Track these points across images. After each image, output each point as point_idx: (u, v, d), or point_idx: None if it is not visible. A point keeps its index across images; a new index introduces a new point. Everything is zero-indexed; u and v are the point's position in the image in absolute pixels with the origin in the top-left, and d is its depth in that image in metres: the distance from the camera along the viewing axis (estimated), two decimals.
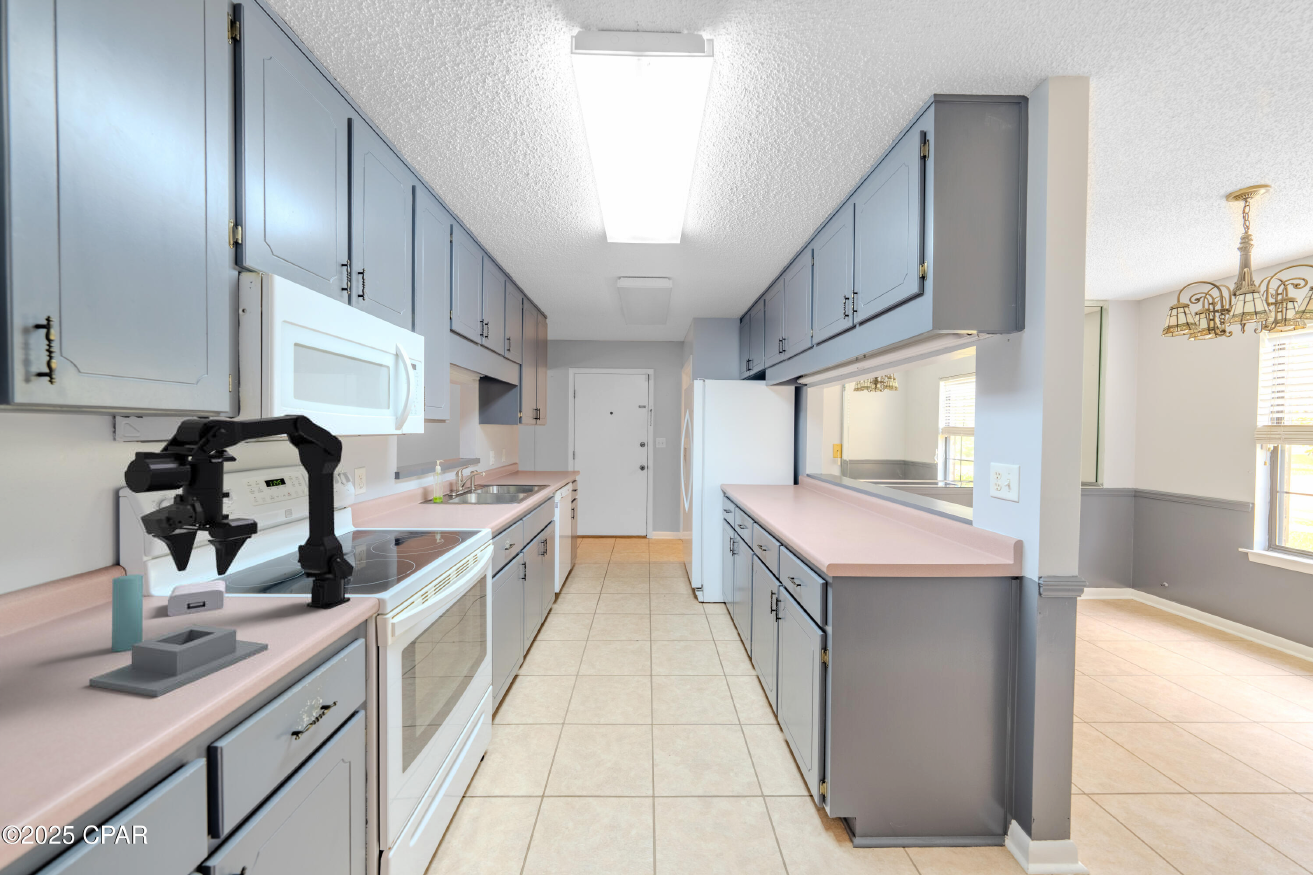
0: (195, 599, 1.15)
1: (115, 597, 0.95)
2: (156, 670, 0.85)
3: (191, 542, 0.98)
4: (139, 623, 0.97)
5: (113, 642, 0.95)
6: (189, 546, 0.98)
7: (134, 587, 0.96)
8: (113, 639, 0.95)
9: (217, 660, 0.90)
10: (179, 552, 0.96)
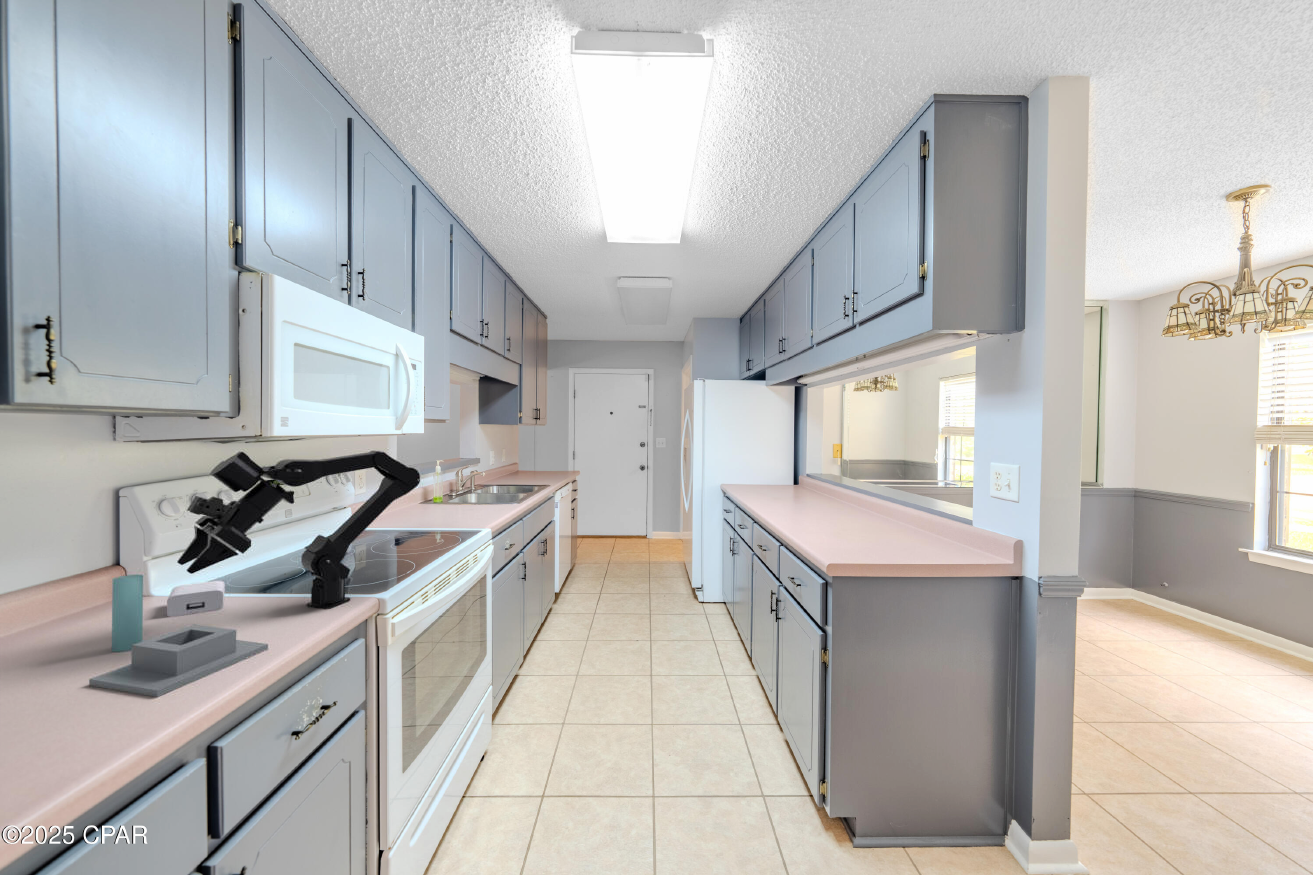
0: (194, 599, 1.15)
1: (115, 597, 0.95)
2: (156, 670, 0.85)
3: None
4: (139, 623, 0.97)
5: (113, 642, 0.95)
6: None
7: (134, 587, 0.96)
8: (113, 639, 0.95)
9: (217, 660, 0.90)
10: (193, 548, 1.08)
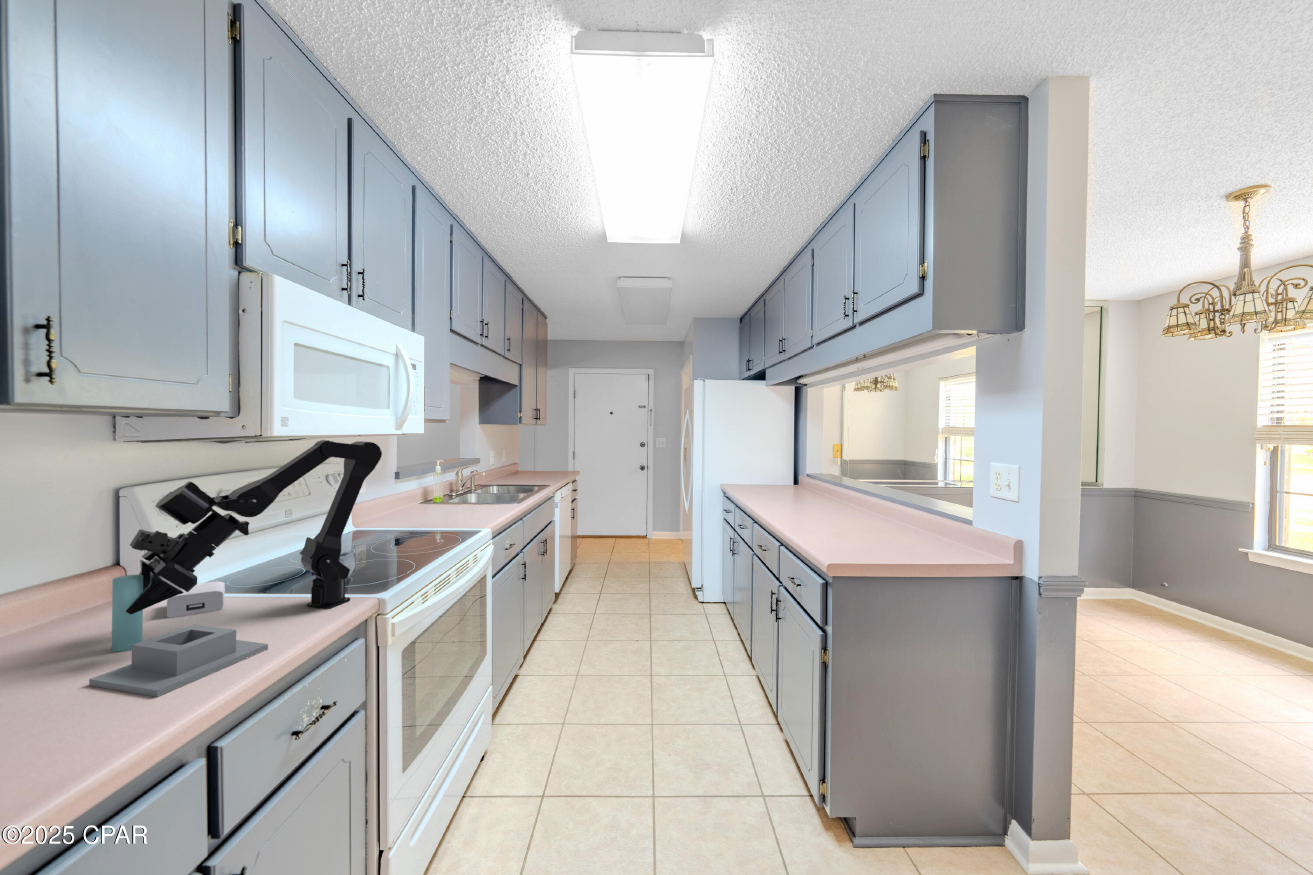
0: (194, 600, 1.14)
1: (115, 597, 0.95)
2: (156, 670, 0.85)
3: None
4: (139, 623, 0.97)
5: (113, 642, 0.95)
6: None
7: (134, 587, 0.96)
8: (113, 639, 0.95)
9: (217, 660, 0.90)
10: None
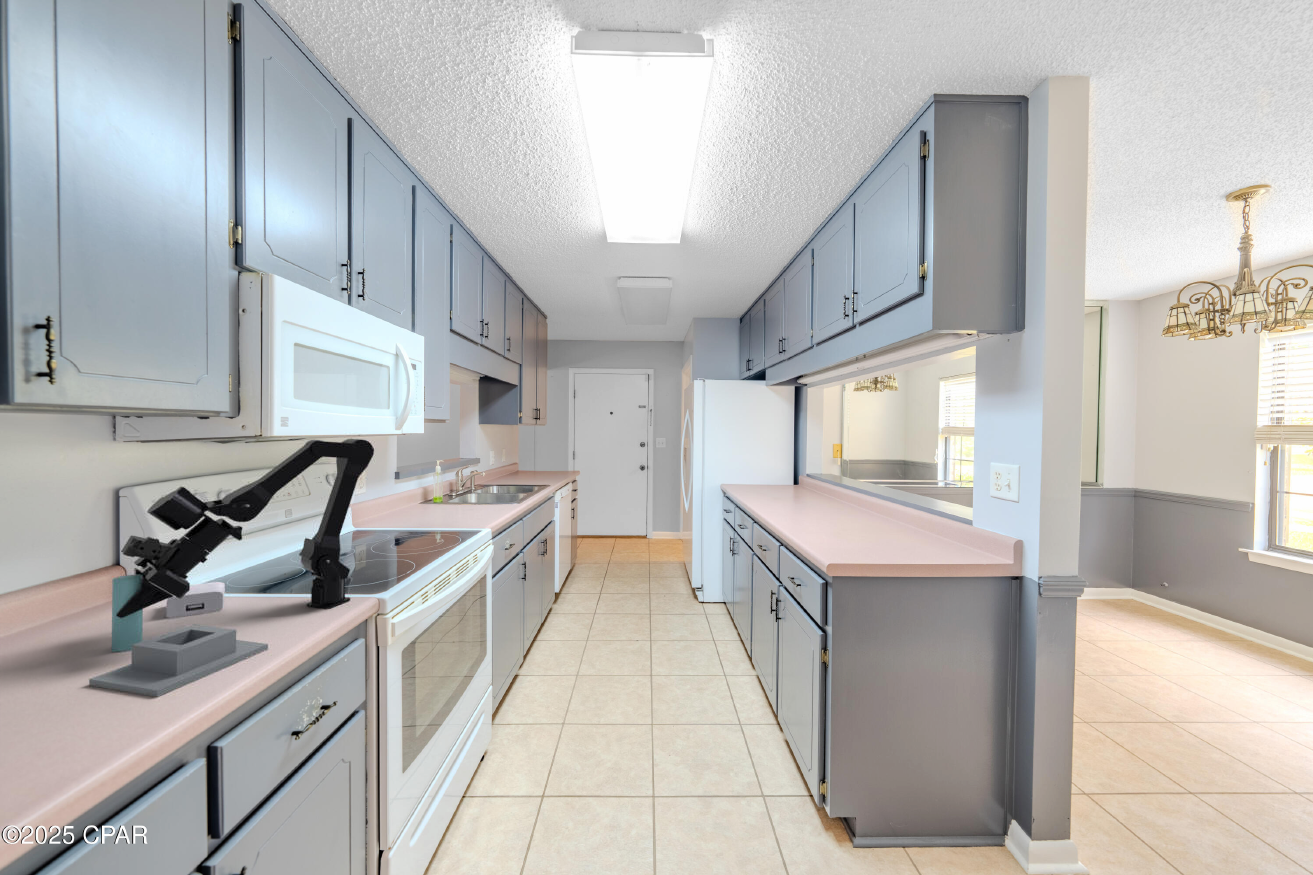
0: (194, 600, 1.14)
1: (115, 597, 0.95)
2: (156, 670, 0.85)
3: None
4: (139, 623, 0.97)
5: (113, 642, 0.95)
6: None
7: (134, 587, 0.96)
8: (113, 639, 0.95)
9: (217, 660, 0.90)
10: None
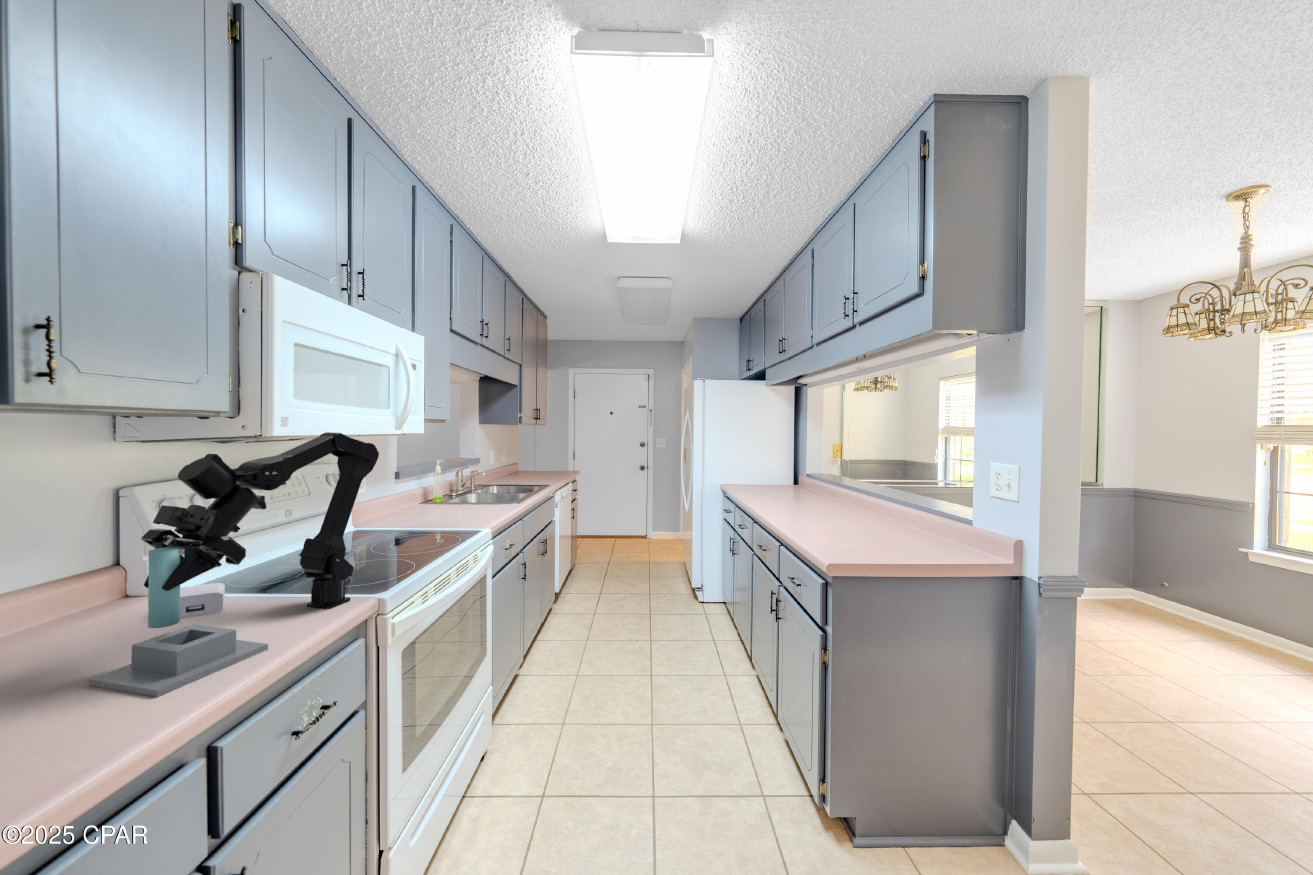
0: (194, 602, 1.13)
1: (157, 570, 0.89)
2: (156, 670, 0.85)
3: None
4: (179, 596, 0.92)
5: (154, 618, 0.89)
6: None
7: (177, 558, 0.91)
8: (154, 615, 0.89)
9: (217, 660, 0.90)
10: None
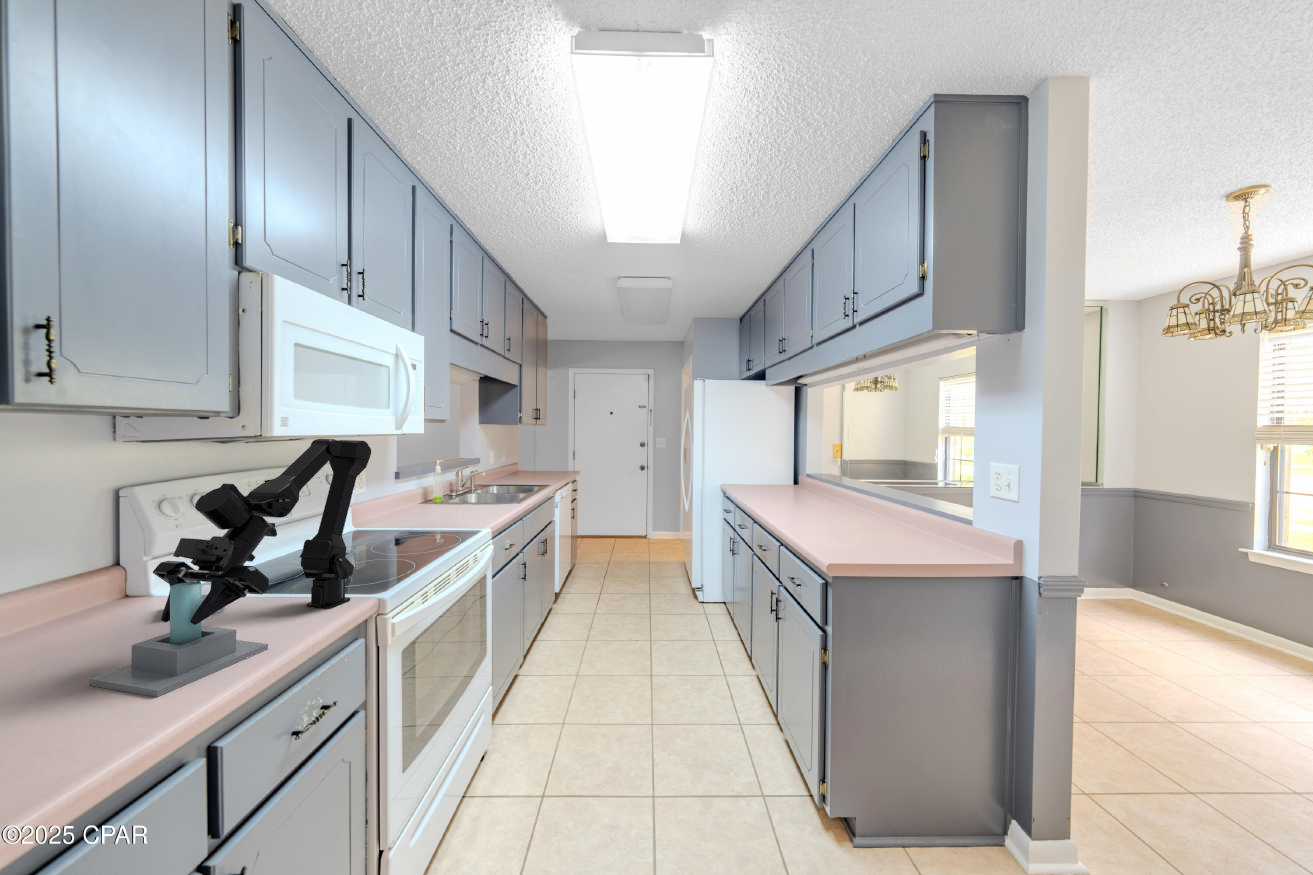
0: None
1: (181, 606, 0.88)
2: (156, 670, 0.85)
3: None
4: None
5: None
6: None
7: (199, 594, 0.90)
8: None
9: (217, 660, 0.90)
10: None
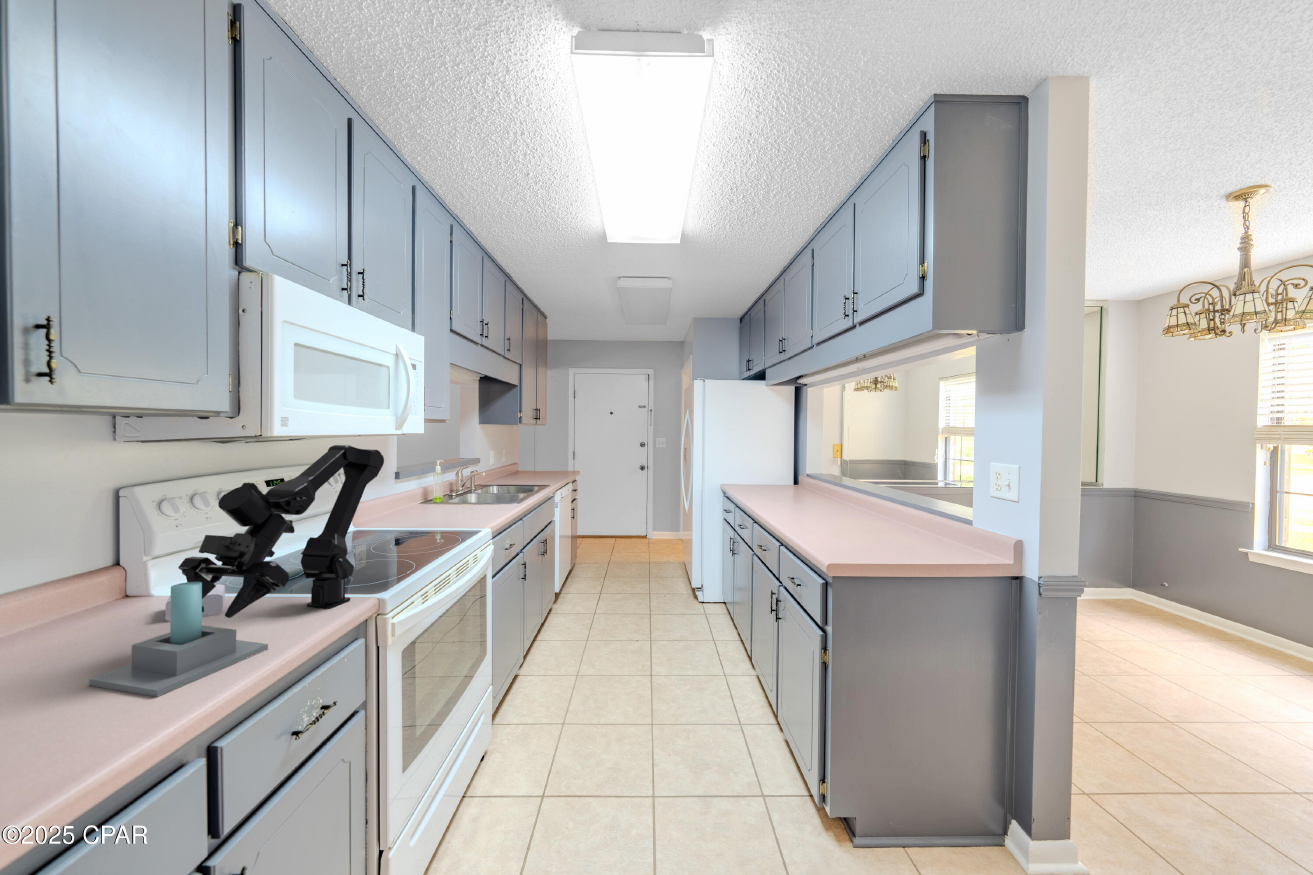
0: None
1: (181, 606, 0.88)
2: (156, 670, 0.85)
3: (205, 593, 0.98)
4: (201, 631, 0.91)
5: None
6: (202, 595, 0.98)
7: (200, 593, 0.91)
8: None
9: (217, 660, 0.90)
10: None
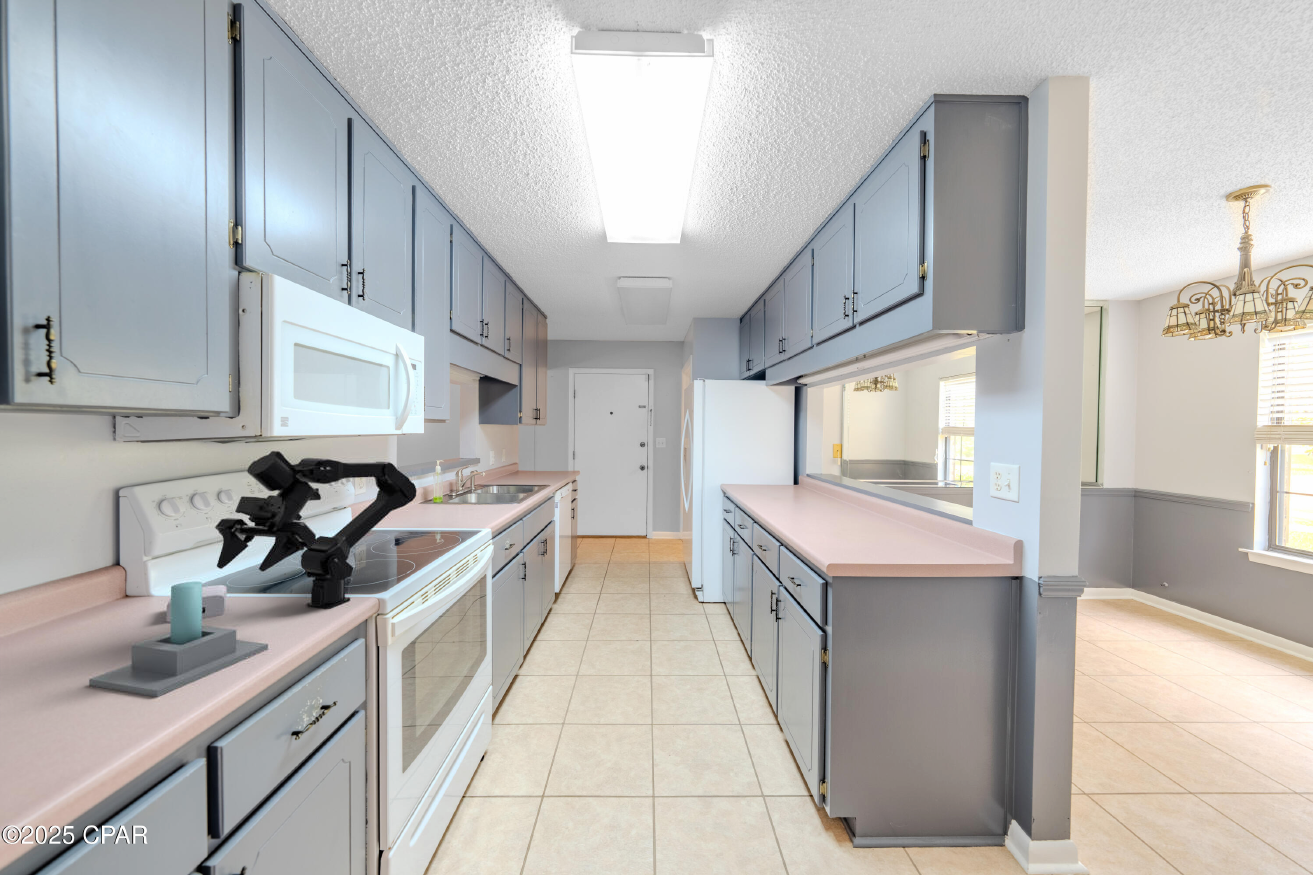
0: None
1: (182, 606, 0.88)
2: (156, 670, 0.85)
3: (239, 551, 1.07)
4: (201, 631, 0.91)
5: None
6: (236, 552, 1.07)
7: (200, 593, 0.91)
8: None
9: (217, 660, 0.90)
10: (228, 551, 1.05)
